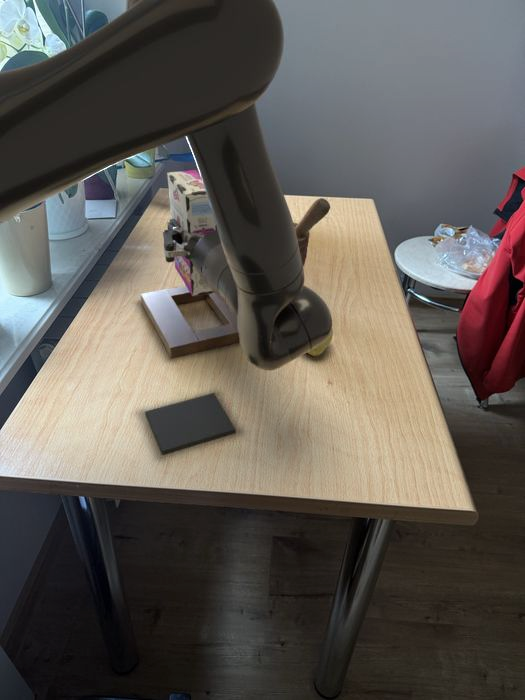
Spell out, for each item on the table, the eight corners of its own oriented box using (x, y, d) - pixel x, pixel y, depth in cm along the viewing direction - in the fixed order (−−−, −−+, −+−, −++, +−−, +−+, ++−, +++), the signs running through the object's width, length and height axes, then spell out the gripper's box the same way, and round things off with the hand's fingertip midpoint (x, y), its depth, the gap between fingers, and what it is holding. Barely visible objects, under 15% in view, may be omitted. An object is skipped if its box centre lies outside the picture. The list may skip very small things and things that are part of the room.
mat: (162, 454, 67) (161, 451, 66) (145, 414, 72) (145, 411, 72) (235, 432, 70) (235, 429, 70) (214, 395, 76) (214, 392, 76)
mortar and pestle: (320, 288, 103) (331, 186, 91) (319, 311, 96) (331, 204, 84) (261, 283, 103) (264, 181, 92) (255, 306, 96) (258, 199, 85)
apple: (328, 334, 90) (332, 304, 86) (333, 362, 83) (337, 331, 80) (293, 333, 90) (295, 303, 86) (295, 361, 83) (297, 330, 80)
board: (171, 358, 83) (170, 347, 82) (141, 303, 96) (140, 293, 95) (263, 336, 89) (263, 326, 88) (223, 287, 102) (223, 278, 101)
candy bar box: (222, 292, 84) (219, 190, 75) (192, 298, 83) (184, 194, 73) (201, 262, 93) (196, 167, 83) (174, 267, 91) (165, 171, 81)
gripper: (278, 234, 72) (231, 194, 84) (177, 249, 67) (142, 204, 79) (275, 283, 76) (230, 238, 89) (180, 301, 71) (146, 250, 84)
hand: (189, 222), depth 84 cm, fingers closed on candy bar box, 5 cm apart
